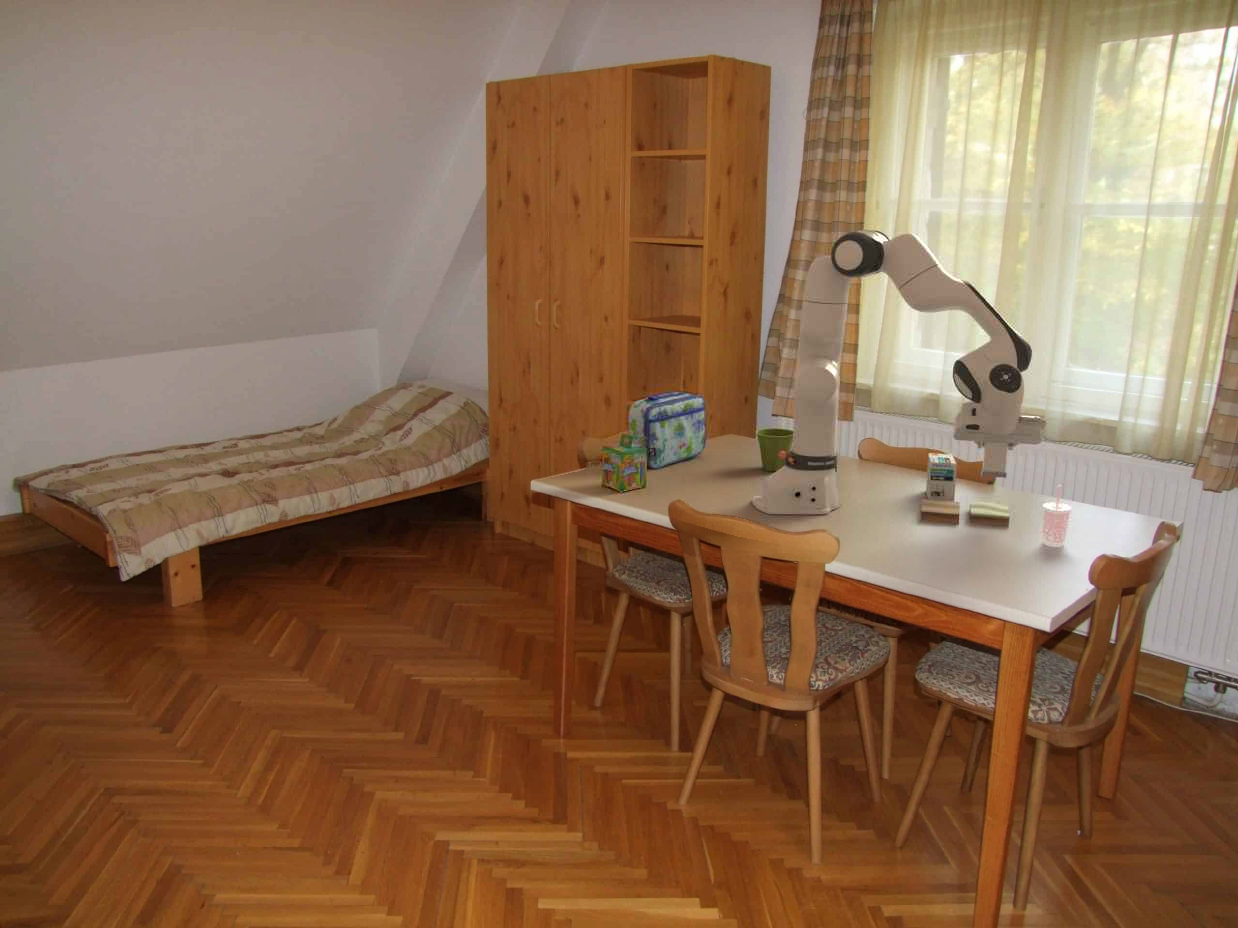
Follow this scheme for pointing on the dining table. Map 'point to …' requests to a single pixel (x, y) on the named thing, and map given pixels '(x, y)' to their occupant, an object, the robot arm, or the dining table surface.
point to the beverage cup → (1055, 522)
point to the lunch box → (669, 427)
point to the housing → (994, 459)
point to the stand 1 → (940, 511)
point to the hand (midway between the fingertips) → (995, 446)
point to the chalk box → (624, 465)
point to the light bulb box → (941, 477)
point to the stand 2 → (989, 513)
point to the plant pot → (774, 446)
